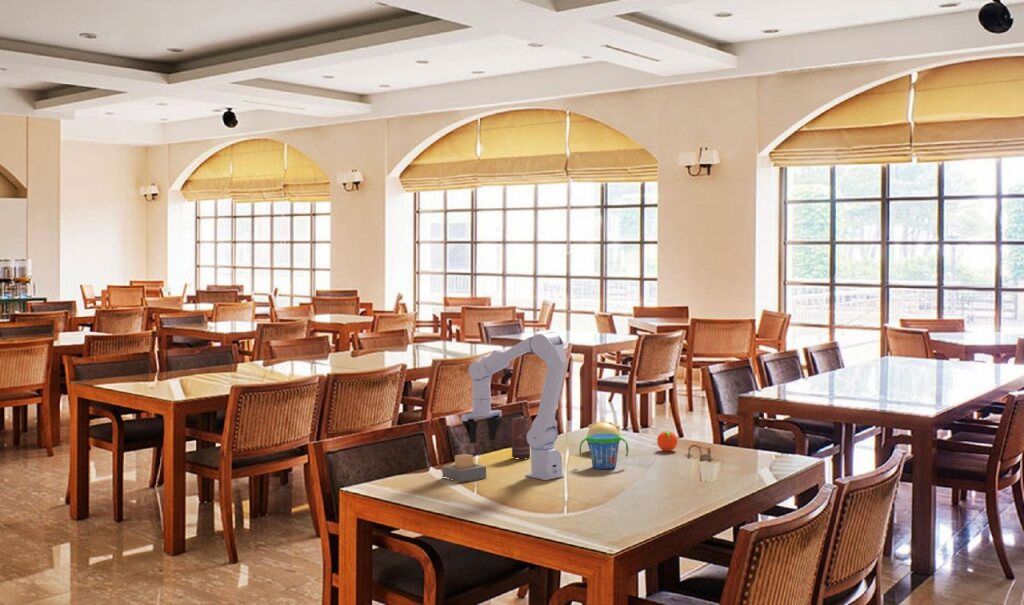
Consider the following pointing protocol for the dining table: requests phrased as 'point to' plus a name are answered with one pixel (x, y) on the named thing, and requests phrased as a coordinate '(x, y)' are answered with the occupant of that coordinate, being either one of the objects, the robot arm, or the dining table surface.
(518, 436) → the can
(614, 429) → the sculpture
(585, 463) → the dining table surface
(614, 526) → the dining table surface
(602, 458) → the snack cup
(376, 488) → the dining table surface
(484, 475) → the socket
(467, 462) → the plug
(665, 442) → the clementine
